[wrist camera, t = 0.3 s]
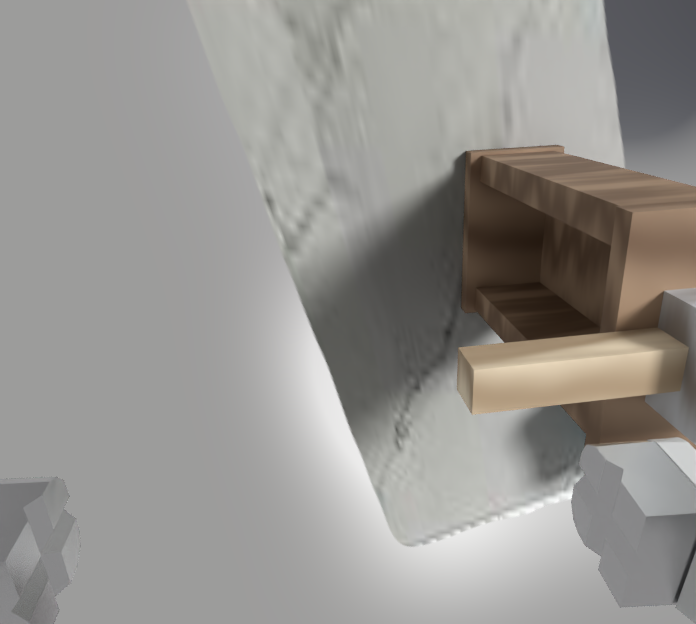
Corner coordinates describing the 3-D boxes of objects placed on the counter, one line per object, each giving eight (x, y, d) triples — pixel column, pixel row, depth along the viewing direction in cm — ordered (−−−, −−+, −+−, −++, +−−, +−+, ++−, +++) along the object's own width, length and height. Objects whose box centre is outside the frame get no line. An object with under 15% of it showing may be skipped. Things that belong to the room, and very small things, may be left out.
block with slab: (459, 309, 30) (488, 345, 26) (765, 281, 32) (837, 310, 28) (456, 423, 33) (482, 471, 29) (738, 390, 35) (800, 432, 30)
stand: (465, 150, 54) (632, 212, 29) (556, 144, 55) (793, 199, 30) (461, 307, 60) (595, 468, 35) (543, 300, 61) (730, 451, 36)
